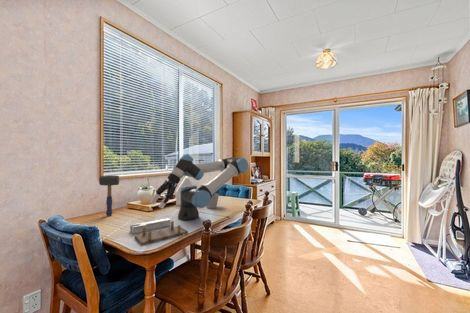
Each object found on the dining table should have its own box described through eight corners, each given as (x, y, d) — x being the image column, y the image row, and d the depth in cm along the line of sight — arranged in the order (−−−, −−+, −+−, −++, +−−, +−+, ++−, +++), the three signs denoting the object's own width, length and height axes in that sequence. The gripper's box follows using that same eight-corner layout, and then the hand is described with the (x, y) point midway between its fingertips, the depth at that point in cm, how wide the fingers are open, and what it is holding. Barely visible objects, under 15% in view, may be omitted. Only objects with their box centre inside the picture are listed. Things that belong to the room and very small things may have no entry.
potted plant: (210, 205, 199) (211, 183, 199) (221, 207, 190) (222, 184, 190) (200, 207, 189) (200, 184, 189) (211, 210, 180) (211, 186, 180)
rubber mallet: (119, 213, 166) (119, 174, 166) (117, 216, 159) (118, 175, 159) (100, 215, 162) (101, 175, 162) (98, 217, 155) (98, 176, 155)
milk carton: (176, 205, 195) (176, 178, 195) (176, 202, 210) (176, 176, 210) (197, 204, 200) (197, 177, 200) (196, 201, 215) (196, 176, 215)
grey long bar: (167, 223, 144) (167, 217, 144) (171, 226, 139) (171, 219, 139) (130, 231, 129) (130, 224, 129) (132, 234, 124) (133, 227, 124)
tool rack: (179, 228, 135) (179, 219, 135) (187, 233, 126) (188, 224, 126) (134, 238, 118) (134, 228, 118) (141, 245, 109) (141, 234, 109)
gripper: (163, 171, 145) (144, 199, 137) (180, 174, 126) (159, 206, 118) (172, 177, 149) (153, 204, 141) (189, 180, 130) (169, 212, 122)
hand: (156, 205), depth 130 cm, fingers open, 13 cm apart
